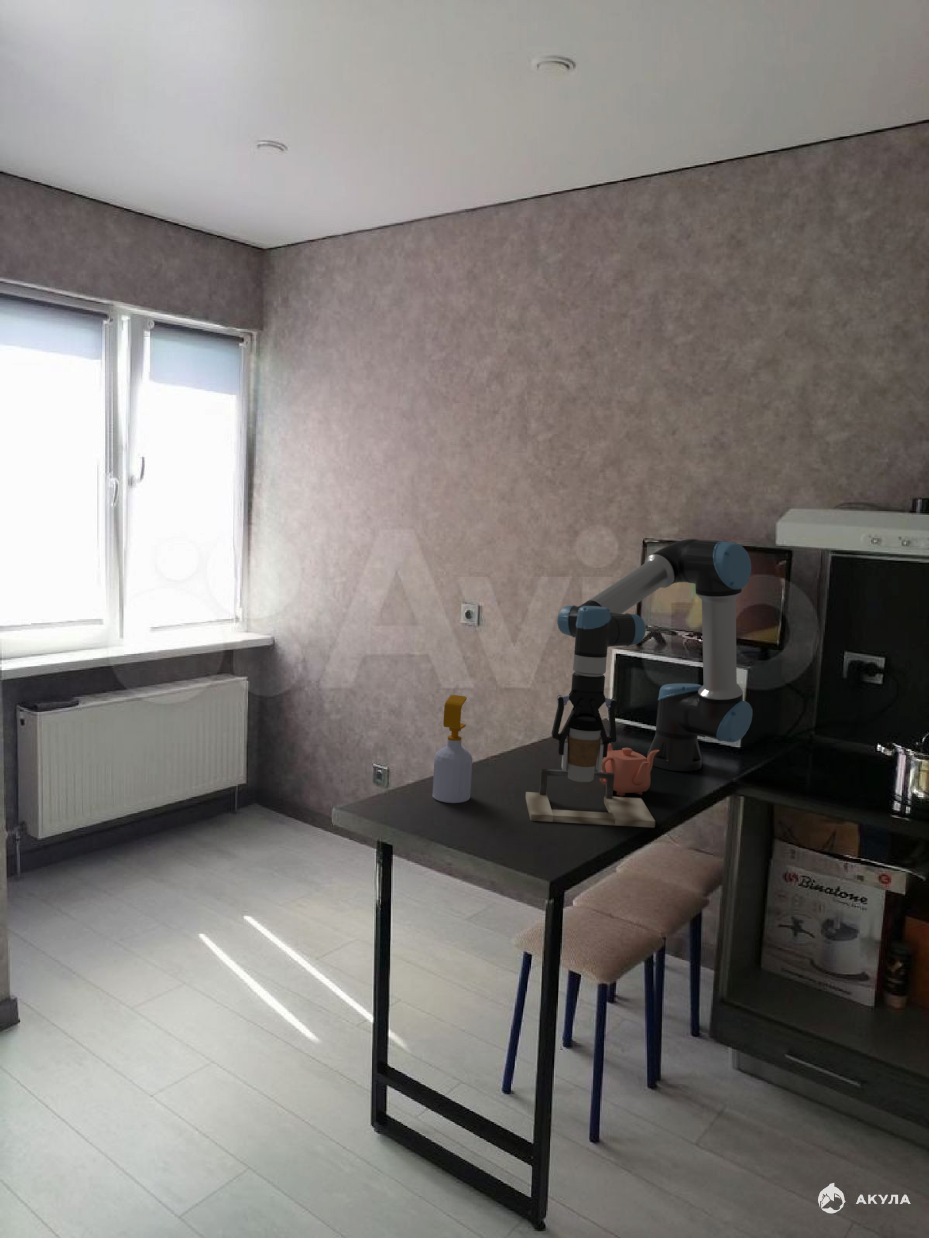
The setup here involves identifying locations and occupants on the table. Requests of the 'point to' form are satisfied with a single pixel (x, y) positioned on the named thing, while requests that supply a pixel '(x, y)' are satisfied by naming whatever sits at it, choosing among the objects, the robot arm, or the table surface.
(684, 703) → the robot arm
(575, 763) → the coffee cup
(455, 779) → the spray bottle
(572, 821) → the cream rectangular frame
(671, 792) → the table surface
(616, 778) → the teapot
